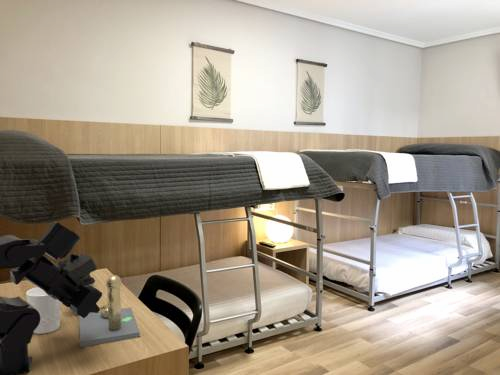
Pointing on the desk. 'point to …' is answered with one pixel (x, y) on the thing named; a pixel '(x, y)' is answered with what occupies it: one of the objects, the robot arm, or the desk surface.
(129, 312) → the gray board
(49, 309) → the white cup
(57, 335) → the desk surface
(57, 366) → the desk surface
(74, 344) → the desk surface
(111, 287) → the brass crank handle
